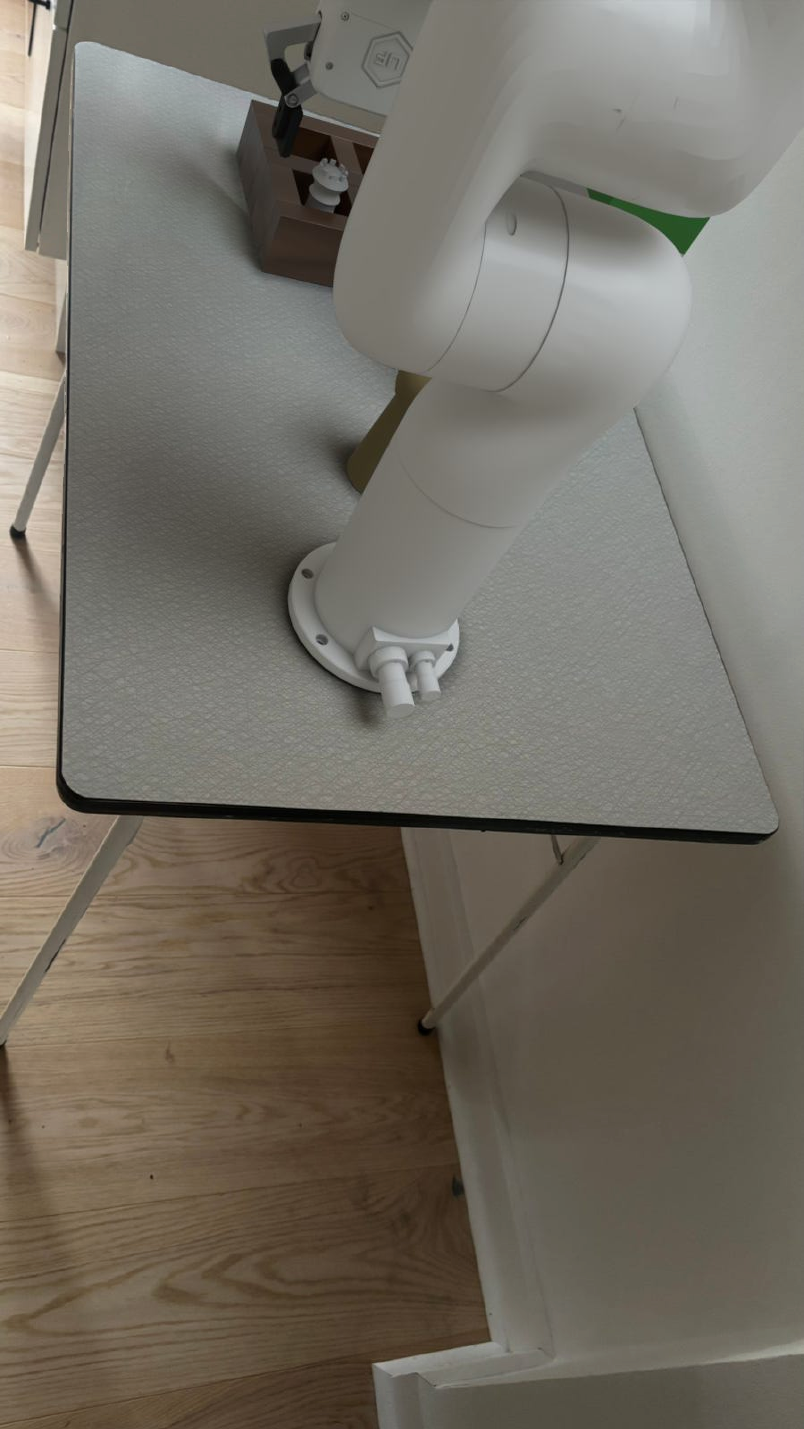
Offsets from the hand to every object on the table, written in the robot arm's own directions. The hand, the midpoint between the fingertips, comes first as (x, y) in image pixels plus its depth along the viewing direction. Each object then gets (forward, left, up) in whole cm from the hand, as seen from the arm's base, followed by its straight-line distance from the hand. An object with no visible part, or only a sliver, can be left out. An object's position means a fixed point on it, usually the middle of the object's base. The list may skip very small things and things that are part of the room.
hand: (335, 163), depth 85 cm
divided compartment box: (+4, -4, -8) cm, 10 cm away
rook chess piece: (0, 0, -9) cm, 9 cm away
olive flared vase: (-27, -2, -9) cm, 29 cm away
